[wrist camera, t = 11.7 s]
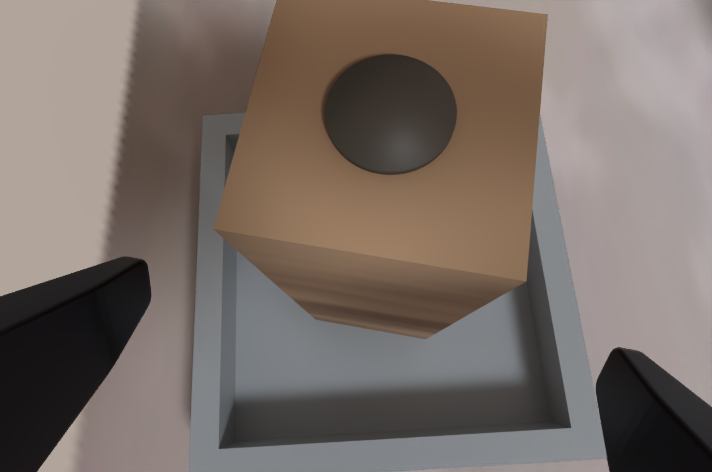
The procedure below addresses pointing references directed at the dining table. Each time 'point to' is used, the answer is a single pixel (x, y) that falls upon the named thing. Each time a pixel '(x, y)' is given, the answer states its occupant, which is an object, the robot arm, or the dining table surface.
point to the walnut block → (389, 159)
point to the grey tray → (383, 364)
